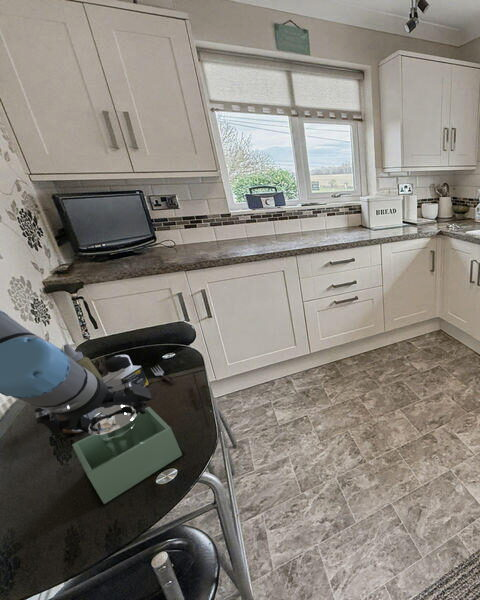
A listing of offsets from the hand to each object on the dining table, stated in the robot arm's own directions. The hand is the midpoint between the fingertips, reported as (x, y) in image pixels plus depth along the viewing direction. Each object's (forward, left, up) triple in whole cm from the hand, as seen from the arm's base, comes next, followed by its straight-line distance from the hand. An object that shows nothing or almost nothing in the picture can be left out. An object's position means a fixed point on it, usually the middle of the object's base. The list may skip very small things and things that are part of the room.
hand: (118, 417), depth 74 cm
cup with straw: (+3, -1, -9) cm, 9 cm away
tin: (-26, -2, -11) cm, 28 cm away
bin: (+3, -1, -11) cm, 12 cm away
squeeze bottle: (-46, 0, -11) cm, 47 cm away
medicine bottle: (-36, +8, -11) cm, 39 cm away
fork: (-34, +17, -11) cm, 40 cm away
